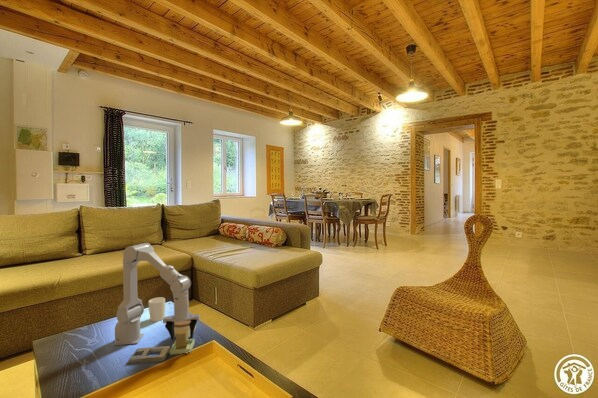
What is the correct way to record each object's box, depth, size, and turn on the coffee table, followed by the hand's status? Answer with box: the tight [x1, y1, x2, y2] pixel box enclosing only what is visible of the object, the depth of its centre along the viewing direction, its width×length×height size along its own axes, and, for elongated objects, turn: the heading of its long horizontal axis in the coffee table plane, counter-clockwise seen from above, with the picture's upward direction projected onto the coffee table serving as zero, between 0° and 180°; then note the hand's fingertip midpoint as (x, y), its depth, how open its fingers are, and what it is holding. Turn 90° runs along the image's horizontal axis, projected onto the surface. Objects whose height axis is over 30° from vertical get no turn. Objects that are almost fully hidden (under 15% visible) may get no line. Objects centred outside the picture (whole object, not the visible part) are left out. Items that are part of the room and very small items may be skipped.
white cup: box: [148, 296, 166, 323], centre depth 152 cm, size 8×8×10 cm
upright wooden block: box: [175, 329, 189, 349], centre depth 123 cm, size 4×4×7 cm
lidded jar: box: [174, 321, 197, 339], centre depth 134 cm, size 11×11×9 cm
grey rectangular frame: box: [128, 345, 171, 364], centre depth 118 cm, size 13×8×2 cm, turn 97°
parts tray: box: [169, 338, 195, 356], centre depth 123 cm, size 8×8×2 cm
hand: (182, 338), depth 123 cm, fingers open, 7 cm apart
